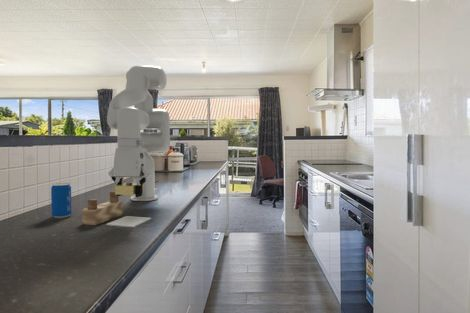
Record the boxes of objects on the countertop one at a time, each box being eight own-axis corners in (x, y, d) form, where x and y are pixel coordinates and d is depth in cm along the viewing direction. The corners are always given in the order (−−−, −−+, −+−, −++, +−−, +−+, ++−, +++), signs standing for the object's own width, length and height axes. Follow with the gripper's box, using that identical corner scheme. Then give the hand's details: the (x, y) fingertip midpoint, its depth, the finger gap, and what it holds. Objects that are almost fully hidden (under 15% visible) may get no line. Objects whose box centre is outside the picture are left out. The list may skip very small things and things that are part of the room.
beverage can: (63, 219, 119) (62, 185, 118) (47, 218, 120) (46, 184, 119) (75, 215, 125) (74, 183, 125) (60, 214, 126) (59, 182, 126)
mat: (126, 217, 123) (126, 215, 123) (151, 218, 120) (151, 217, 120) (106, 225, 111) (106, 224, 111) (133, 227, 109) (133, 226, 109)
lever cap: (126, 191, 119) (126, 181, 119) (143, 192, 118) (143, 181, 117) (115, 194, 112) (114, 183, 112) (132, 195, 111) (132, 184, 111)
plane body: (111, 213, 128) (111, 190, 127) (122, 214, 127) (122, 191, 126) (82, 224, 112) (82, 197, 112) (95, 225, 111) (94, 198, 111)
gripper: (157, 144, 116) (157, 195, 117) (113, 143, 120) (113, 193, 121) (146, 144, 108) (146, 199, 109) (100, 143, 113) (100, 196, 114)
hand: (129, 195), depth 115 cm, fingers closed on lever cap, 6 cm apart
